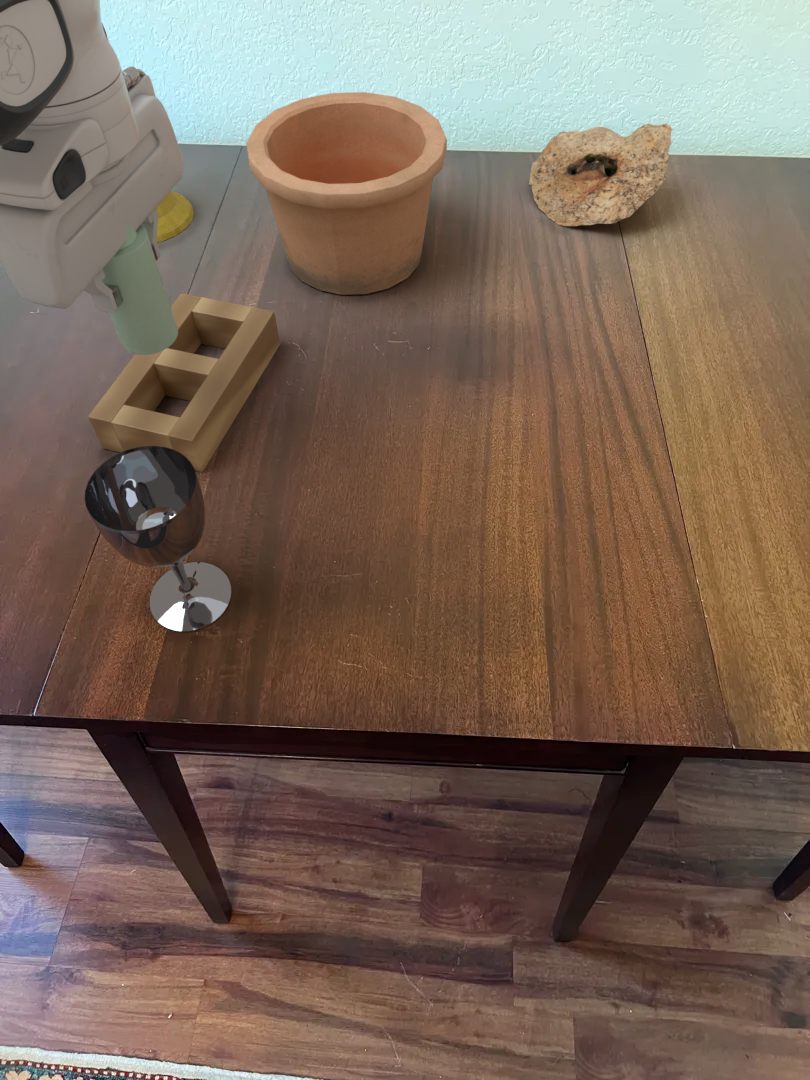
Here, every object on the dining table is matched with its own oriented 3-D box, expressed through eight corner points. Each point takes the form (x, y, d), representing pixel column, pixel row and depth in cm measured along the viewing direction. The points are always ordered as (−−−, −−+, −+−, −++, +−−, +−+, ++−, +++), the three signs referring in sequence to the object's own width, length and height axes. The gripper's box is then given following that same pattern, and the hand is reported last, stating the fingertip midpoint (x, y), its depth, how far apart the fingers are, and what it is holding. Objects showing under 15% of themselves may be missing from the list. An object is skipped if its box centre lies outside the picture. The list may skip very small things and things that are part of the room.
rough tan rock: (533, 262, 106) (515, 220, 100) (549, 182, 111) (534, 137, 105) (671, 241, 97) (661, 194, 91) (682, 155, 102) (673, 105, 96)
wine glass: (190, 544, 71) (142, 430, 59) (255, 586, 69) (219, 475, 56) (125, 605, 68) (60, 497, 55) (191, 652, 65) (138, 549, 53)
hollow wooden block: (102, 448, 78) (87, 416, 75) (190, 325, 89) (181, 292, 86) (202, 472, 76) (192, 441, 73) (280, 344, 87) (274, 311, 84)
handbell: (196, 238, 99) (139, 16, 79) (97, 251, 98) (14, 29, 78) (191, 186, 106) (138, -29, 86) (99, 197, 105) (23, -19, 85)
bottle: (110, 348, 71) (45, 195, 58) (138, 313, 73) (82, 159, 61) (161, 359, 70) (106, 205, 57) (188, 323, 72) (141, 169, 60)
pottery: (246, 302, 92) (221, 186, 80) (291, 198, 104) (275, 85, 93) (429, 318, 89) (430, 202, 78) (452, 210, 102) (456, 96, 90)
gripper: (106, 51, 62) (154, 212, 73) (-55, 188, 51) (32, 353, 62) (177, 60, 61) (216, 222, 72) (29, 203, 49) (102, 368, 61)
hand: (130, 284), depth 67 cm, fingers closed on bottle, 5 cm apart
